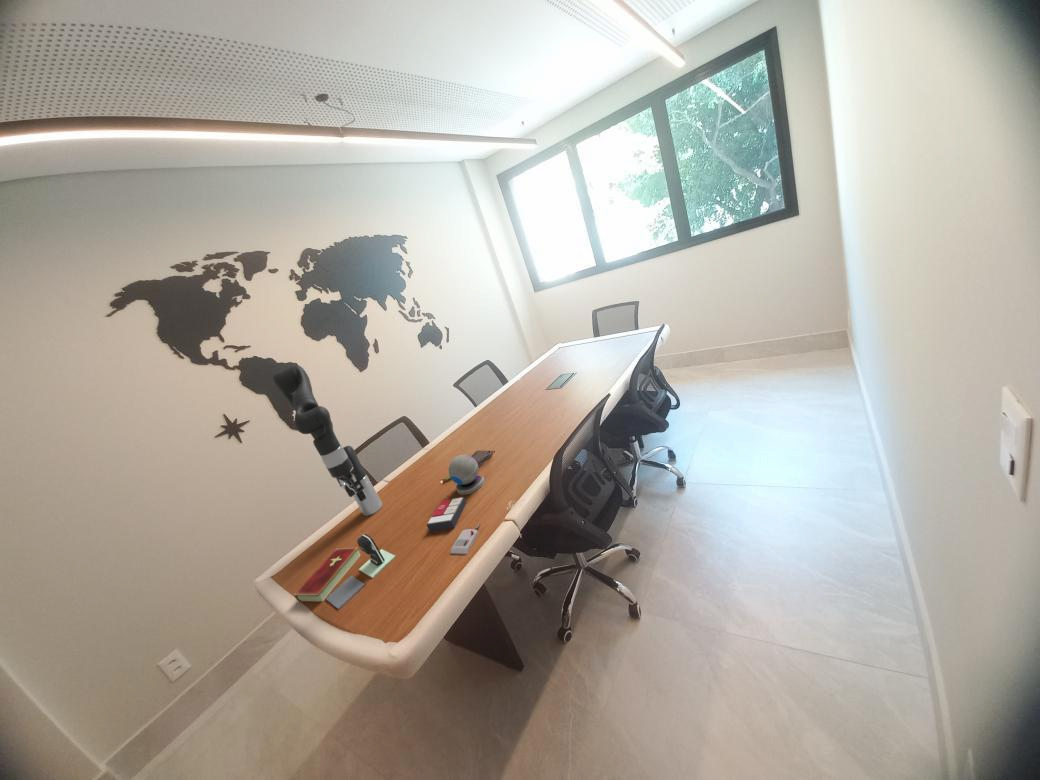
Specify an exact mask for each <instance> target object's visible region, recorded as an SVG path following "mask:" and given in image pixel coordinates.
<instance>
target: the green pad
mask: <svg viewBox="0 0 1040 780" xmlns="http://www.w3.org/2000/svg"><path fill="white" fill-rule="evenodd" d="M379 551H380V553H381V554H382V556H383V558H384V559H385V561H384V562H383V563H381V564H380V565H378V566H376V565H375V564H373V563H372V562H371V561H370V559H368V560H367V561H366V562H365V563H364V564H363V565H362V566H361V567H360V568H358V570H359V571H360V572H362V573H363V574H365V575H366V576H368V577H370V578H372V579H374V577H376V576H377V574H379V573H380V572H381V571H382V570H383V569H384V568H385V567H387V565H389V564H390V563H391V561H393V560H394V559H395V558H396V555H395V554H392V553H390V552H388V551H386V550H385V549H382V548H381V549H379Z"/></svg>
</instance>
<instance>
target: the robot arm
mask: <svg viewBox="0 0 1040 780" xmlns="http://www.w3.org/2000/svg"><path fill="white" fill-rule="evenodd" d="M272 382H273V383H274V385H275V387H276V388H277V389H278V390H279V392H280V394H282V395H283V397H284V399H286V401H287V402H288V403H289V404H290V407H291V406H292V408H293V410H294V411H295V414H294V425H295V428H296V430H297V431H298V432H299V433H301V434H303V435H309V434H310V435H311V437H312V438H313V445H314V448H315V449H316V451H317V453H318V454H319V456H320V458H321V460H322V463H323V464H324V465H325V468H326V469H327V471H328V473H329V474H330V476H331V477H332V479H333V478H334V479H335V480H336V481H337V482H338V484H339V487H340V488H342V489H344V490H345V492H346V493H347V495H348V497H350V498H352V497H353V498H354V501H356V505H358V507H359V510H360V511H361V513H362V514H363V516H365V517H366V516H371V515H373V514H376V513H377V512H378V511H379V510H380V509H381V508H382V507H383V502H382V500H381V498H380V497H379V495H378V493H377V491H376V489H375V488H374V486H373V483H372V482H371V480H370V479H369V476H368V475H367V473H366V471H365V469H364V467H363V465H362V463H361V461H360V460H359V457H358V455H357V453H356V451H355V449H354V448H353V447H352V446H350V445H346V446H344V447H343V446H342V445H341V443H340V441H339V439H338V438H337V436H336V434H335V431H334V424H333V422H332V419H331V414H330V412H329V410H328V409H327V408H326V407H325V406H322V405H321V406H319V404H318V402H317V400H316V398H315V396H314V392H313V388H312V384H311V380H310V377H309V375H308V374H307V372H306V370H305V369H304V368H303V366H301V365H299V364H296V365H292V366H290V367H287V368H284V369H283V370H281V371H278V372H276V373H274V374H273V375H272Z"/></svg>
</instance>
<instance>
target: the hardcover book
mask: <svg viewBox="0 0 1040 780" xmlns="http://www.w3.org/2000/svg"><path fill="white" fill-rule="evenodd" d="M360 557H361V553H360V552H359V547H340V548H335V549H334V551H332V553H330V555H329V556H328V558H326V560H325V561H324V562H323V563H322V564H321V565H320V566H319V567H318V568H317V569H316V570H315V572H314V573H313V574H311V576H310V577H309V578H308V579H307V580H306V581H305V583H303V585H302V586H301V587H300V588H299V589H298V590H297V591H296V592H295V593H294V598H295V600H297V602H298V601H300V600H301V601H300V602H322V603H323V602H324V601H325V599H326V598H327V597H328V596H329V595H330V594H331V593H332V592H333V589H334V588H335V587H336V586H337V584H339V583H340V581H341V580H342V579H343V577H344V576H345V575H346V574H347V572H348V571H349V570H350V569H351V567H352V566H353V565H354V564H355V562H356V561H358V559H359V558H360Z"/></svg>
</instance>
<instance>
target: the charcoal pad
mask: <svg viewBox="0 0 1040 780" xmlns="http://www.w3.org/2000/svg"><path fill="white" fill-rule="evenodd" d="M365 586H366V584H365V582H364V583H363V582H362V581H360V580H359V579H357V578H356V577H354V576H353V575H351V576H350V577H348V578H347V579H346V580H345V581H343V582H342V583H341V584H339V586H338V587H337V588H336V589H334V590H333V591H331V592H330V593H329V594H328V596H327V597H326V598H325V599H326V601H328V602H329V603H330V604H332V605H333V607H335V608H336V609H338V610H340V609H342V608H343V606H345V605H346V603H348V602H349V601H350V600H351V599H352V598H353V597H354V596H355V595H356V594H358V593H359V592H360V590H362V589H363V588H364V587H365Z"/></svg>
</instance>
